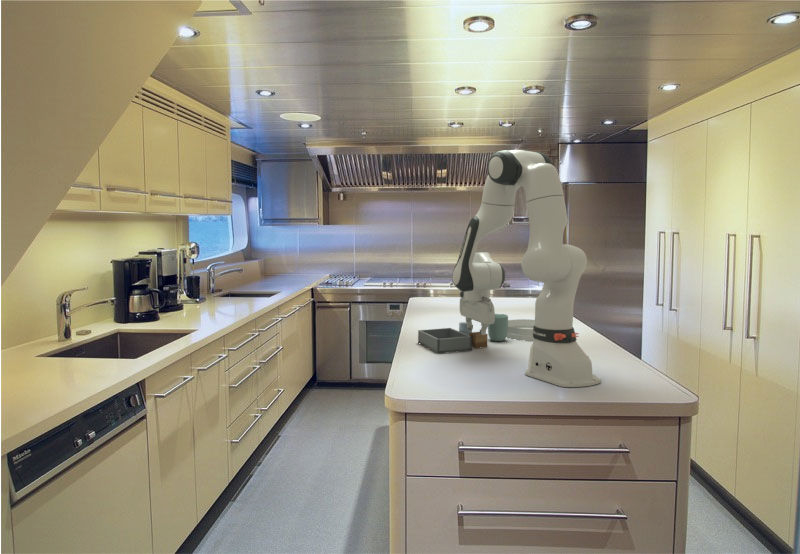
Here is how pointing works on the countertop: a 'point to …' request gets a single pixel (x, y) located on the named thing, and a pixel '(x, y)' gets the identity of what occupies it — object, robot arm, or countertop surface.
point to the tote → (444, 340)
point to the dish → (521, 329)
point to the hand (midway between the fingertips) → (476, 331)
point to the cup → (498, 328)
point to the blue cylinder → (464, 328)
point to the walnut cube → (478, 339)
